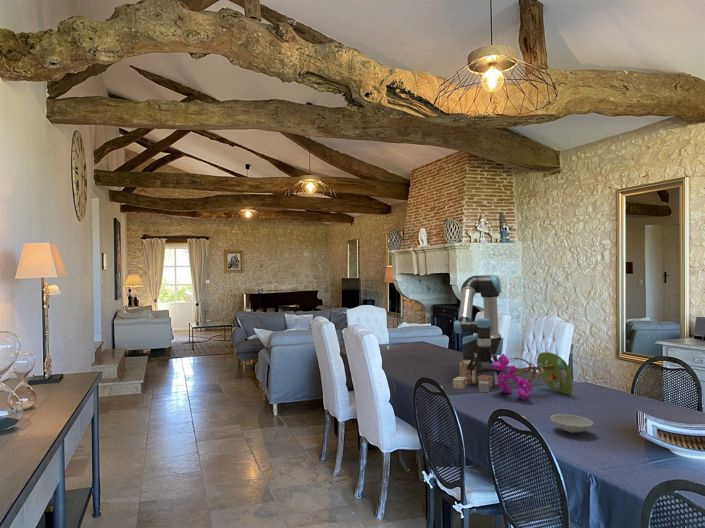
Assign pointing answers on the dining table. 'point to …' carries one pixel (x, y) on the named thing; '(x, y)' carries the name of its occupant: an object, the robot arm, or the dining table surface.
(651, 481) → the dining table surface
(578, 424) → the dish
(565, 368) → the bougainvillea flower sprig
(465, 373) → the stack of blocks
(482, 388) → the grey cube
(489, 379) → the terracotta cube
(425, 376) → the dining table surface
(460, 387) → the beech block
